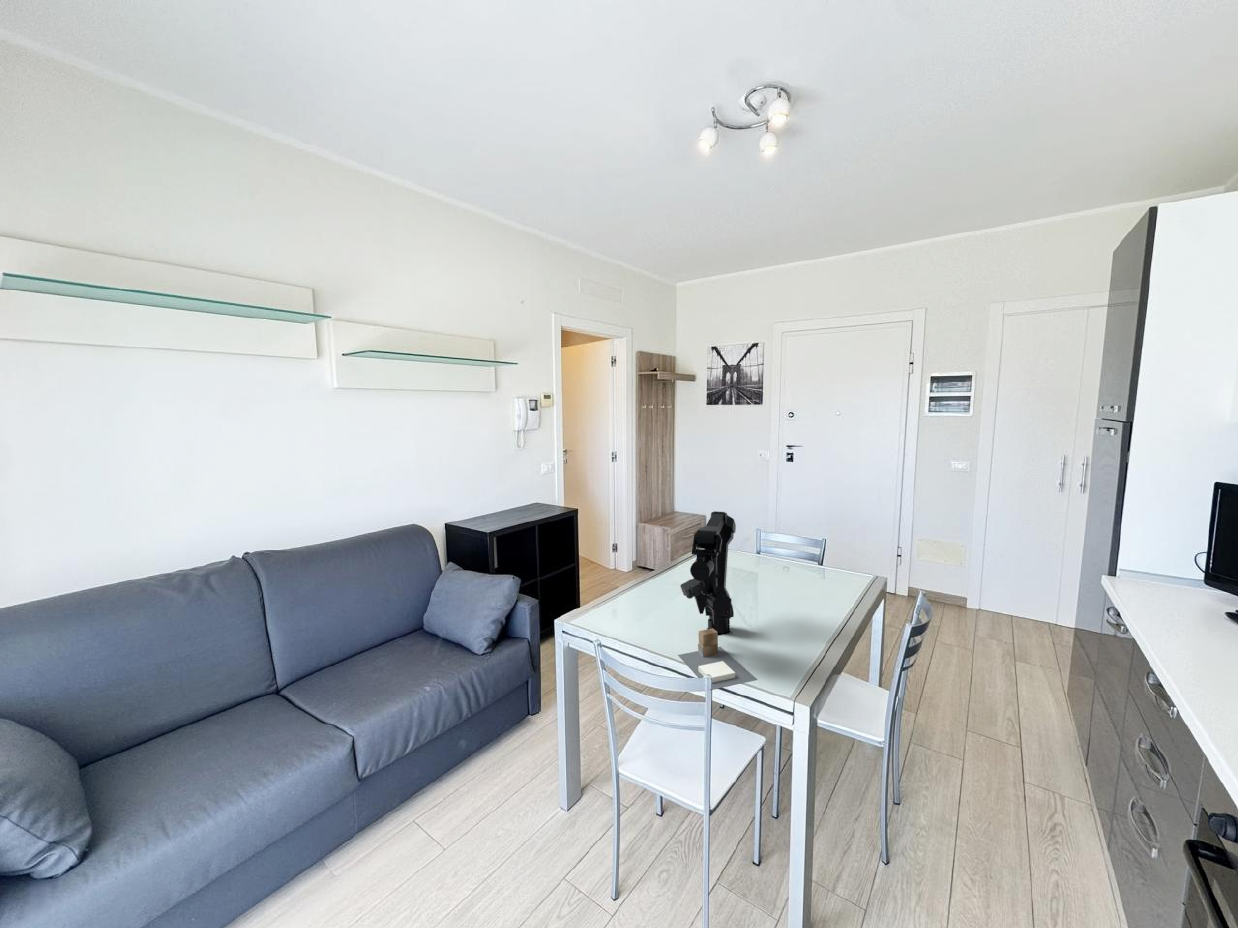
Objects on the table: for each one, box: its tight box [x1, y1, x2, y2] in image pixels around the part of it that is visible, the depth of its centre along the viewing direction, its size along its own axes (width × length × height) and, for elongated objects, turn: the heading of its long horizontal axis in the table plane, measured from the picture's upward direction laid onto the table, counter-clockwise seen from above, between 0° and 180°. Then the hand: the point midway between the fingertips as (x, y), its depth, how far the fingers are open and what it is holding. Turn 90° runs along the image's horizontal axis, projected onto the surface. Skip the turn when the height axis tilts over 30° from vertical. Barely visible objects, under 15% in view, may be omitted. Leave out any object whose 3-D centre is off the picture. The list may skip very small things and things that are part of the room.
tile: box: [698, 661, 735, 683], centre depth 143 cm, size 2×7×8 cm
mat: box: [677, 646, 758, 691], centre depth 147 cm, size 15×21×1 cm
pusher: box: [697, 628, 719, 657], centre depth 155 cm, size 5×3×7 cm, turn 109°
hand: (708, 619), depth 154 cm, fingers open, 9 cm apart
